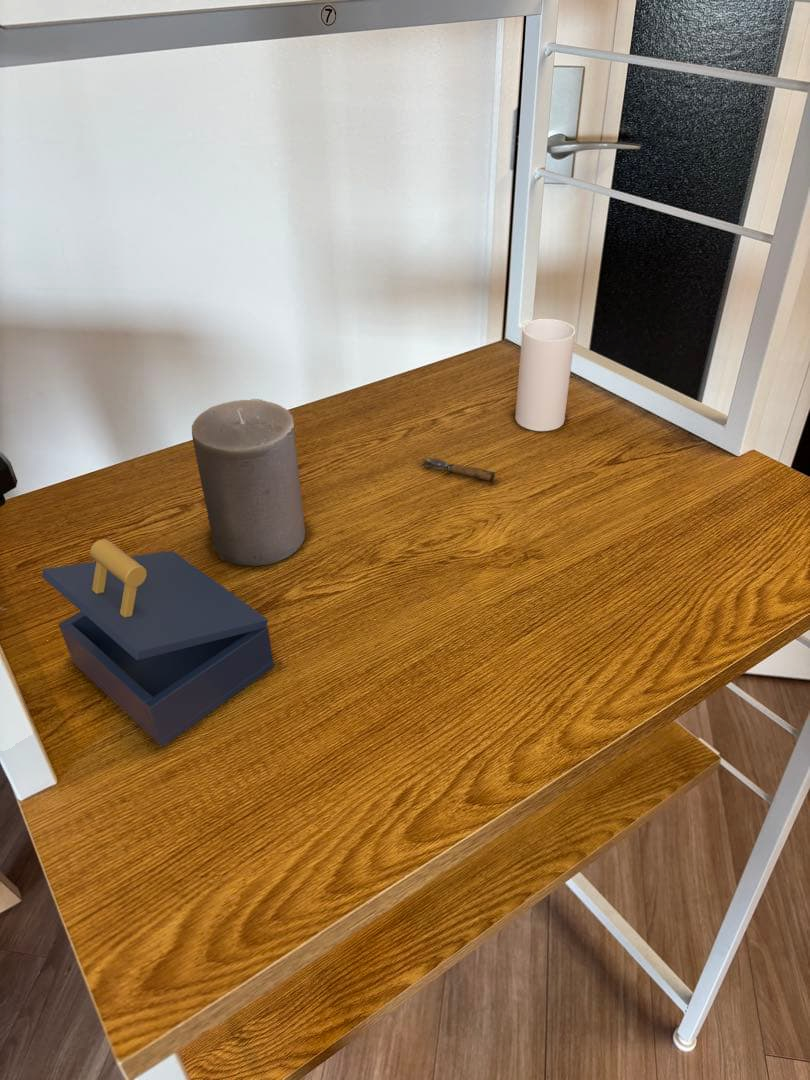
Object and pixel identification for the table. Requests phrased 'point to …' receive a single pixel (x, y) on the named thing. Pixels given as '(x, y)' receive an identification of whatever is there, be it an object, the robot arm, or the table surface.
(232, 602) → the lid
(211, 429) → the pillar candle
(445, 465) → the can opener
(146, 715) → the chest
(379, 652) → the table surface
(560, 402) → the cup
